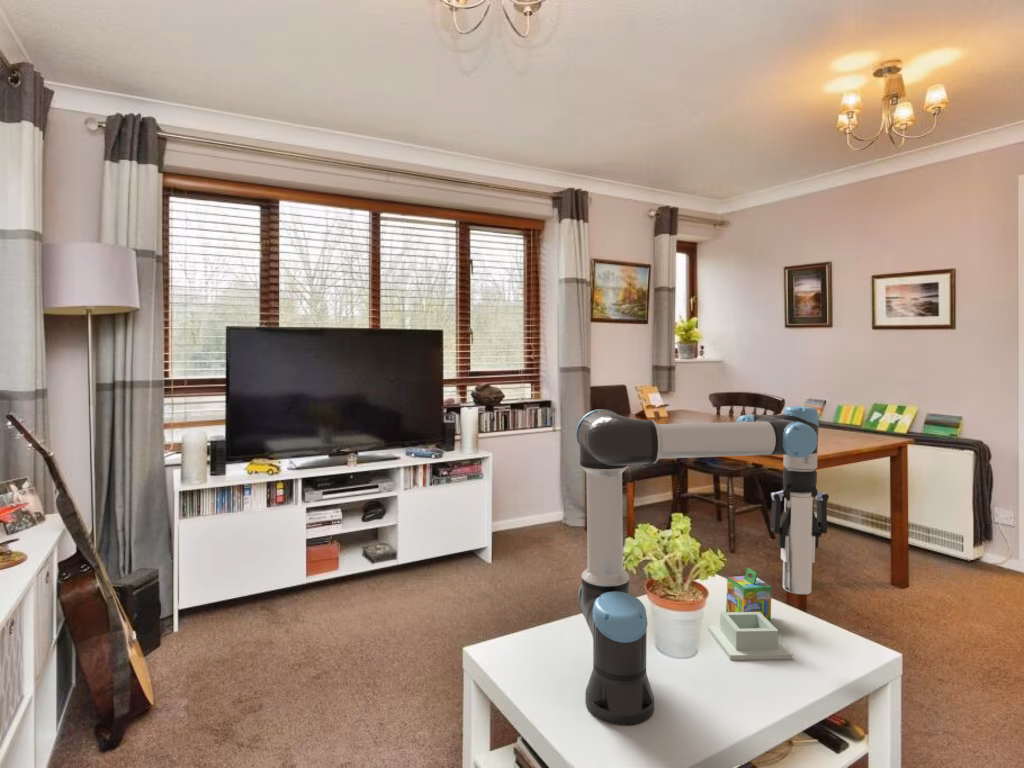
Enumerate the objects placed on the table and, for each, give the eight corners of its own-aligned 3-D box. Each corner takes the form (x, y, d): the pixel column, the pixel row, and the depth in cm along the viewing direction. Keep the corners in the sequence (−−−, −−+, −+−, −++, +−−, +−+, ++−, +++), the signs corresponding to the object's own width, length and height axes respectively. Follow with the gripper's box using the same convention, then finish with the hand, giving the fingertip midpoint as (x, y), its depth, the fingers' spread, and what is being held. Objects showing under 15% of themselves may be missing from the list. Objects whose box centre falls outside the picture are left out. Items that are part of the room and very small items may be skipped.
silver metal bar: (814, 595, 141) (817, 494, 139) (785, 593, 142) (788, 493, 141) (807, 585, 147) (809, 488, 146) (779, 583, 148) (781, 487, 147)
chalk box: (725, 614, 173) (725, 565, 173) (752, 611, 175) (753, 563, 174) (743, 628, 164) (744, 577, 164) (772, 625, 166) (773, 575, 165)
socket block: (730, 659, 148) (730, 636, 147) (708, 629, 164) (708, 608, 163) (792, 659, 148) (792, 635, 147) (764, 629, 164) (764, 607, 163)
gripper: (768, 471, 139) (766, 566, 140) (846, 471, 139) (843, 566, 140) (755, 465, 147) (753, 555, 148) (829, 465, 147) (826, 555, 148)
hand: (797, 560), depth 144 cm, fingers closed on silver metal bar, 6 cm apart
